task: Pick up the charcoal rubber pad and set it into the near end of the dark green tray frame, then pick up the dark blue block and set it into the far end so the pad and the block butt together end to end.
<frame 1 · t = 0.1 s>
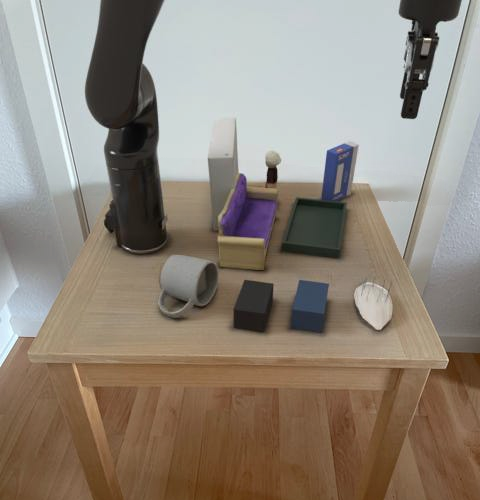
hand: (407, 108, 72), 29 cm above the table, tool pointing down, fingers open, 8 cm apart
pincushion: (371, 309, 83), on the table
skincare box: (226, 207, 110), on the table, touching toy sofa
grandmother figurine: (269, 207, 110), on the table
charcoal pad: (253, 314, 82), on the table
ceramic mug: (187, 301, 85), on the table
blue and white box: (335, 197, 113), on the table
dark blue block: (308, 314, 82), on the table
toy sofa: (250, 242, 99), on the table, touching skincare box
pad frame: (315, 229, 102), on the table
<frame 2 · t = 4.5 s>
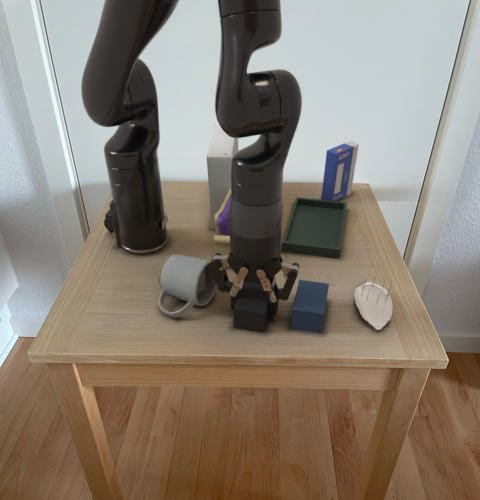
hand: (253, 312, 82), 0 cm above the table, tool pointing down, fingers closed on charcoal pad, 5 cm apart
charcoal pad: (253, 314, 82), on the table, touching gripper
toy sofa: (247, 241, 99), on the table, touching skincare box
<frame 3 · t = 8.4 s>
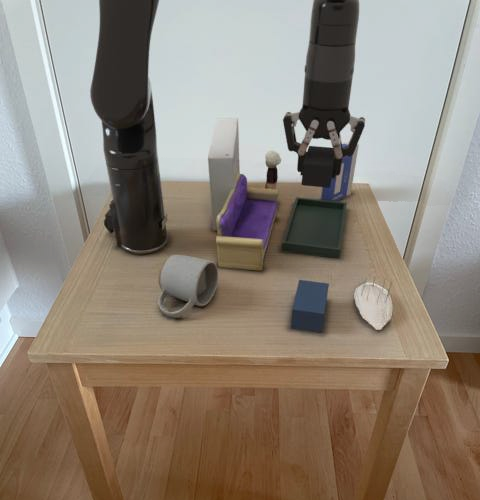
hand: (318, 174, 89), 15 cm above the table, tool pointing down, fingers closed on charcoal pad, 5 cm apart
charcoal pad: (318, 176, 89), point 14 cm above the table, touching gripper
when the fingers open (1 cm above the table, at t = 12.1 s): charcoal pad stays where it is, resting on pad frame.
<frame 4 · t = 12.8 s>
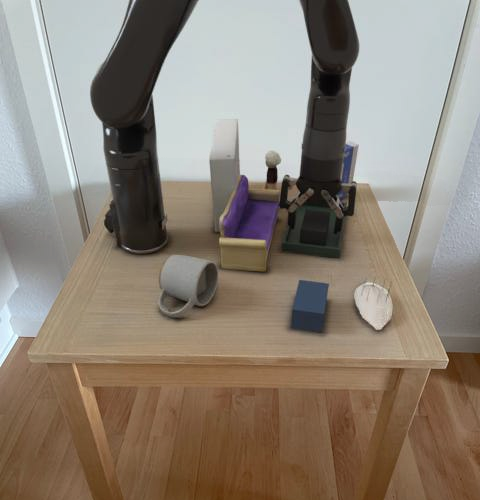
hand: (313, 229, 98), 2 cm above the table, tool pointing down, fingers open, 8 cm apart
charcoal pad: (314, 238, 99), resting on pad frame
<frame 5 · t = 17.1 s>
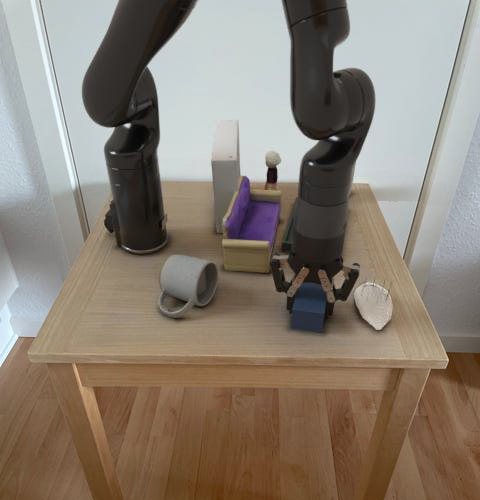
hand: (309, 312, 82), 0 cm above the table, tool pointing down, fingers closed on dark blue block, 5 cm apart
dark blue block: (309, 314, 82), on the table, touching gripper
when the fingers open (1 cm above the table, at t = 24.9 s): dark blue block stays where it is, resting on pad frame.
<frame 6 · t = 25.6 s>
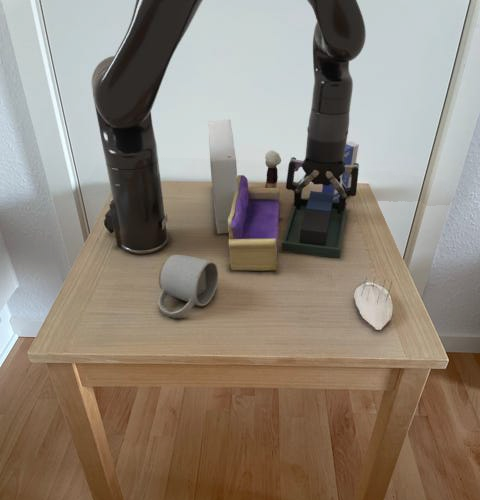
hand: (318, 209, 104), 2 cm above the table, tool pointing down, fingers open, 8 cm apart
dark blue block: (318, 217, 105), resting on pad frame
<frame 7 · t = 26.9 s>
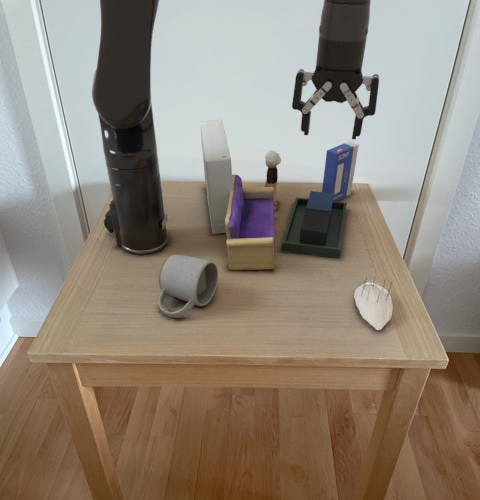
hand: (329, 135, 89), 20 cm above the table, tool pointing down, fingers open, 8 cm apart
skincare box: (219, 209, 109), on the table, touching toy sofa
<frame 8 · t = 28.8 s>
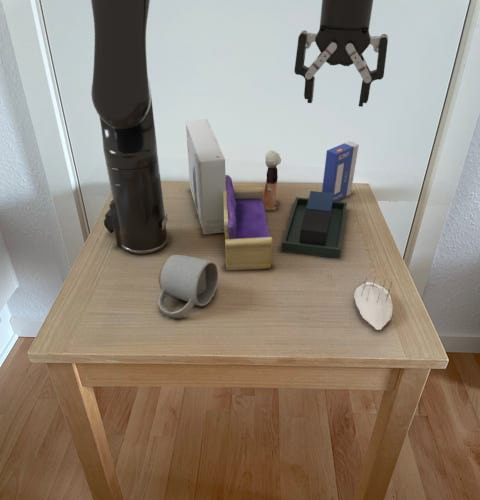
hand: (335, 103, 83), 26 cm above the table, tool pointing down, fingers open, 8 cm apart
skincare box: (206, 210, 109), on the table, touching toy sofa
toy sofa: (245, 242, 99), on the table, touching skincare box
everything else where it was.
at the end: charcoal pad 0.2 cm from the target spot in the pad frame, point 0.5 cm above the pad frame's base; dark blue block 0.1 cm from the target spot in the pad frame, point 0.5 cm above the pad frame's base; dark blue block 8.4 cm from the charcoal pad (horizontally) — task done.
